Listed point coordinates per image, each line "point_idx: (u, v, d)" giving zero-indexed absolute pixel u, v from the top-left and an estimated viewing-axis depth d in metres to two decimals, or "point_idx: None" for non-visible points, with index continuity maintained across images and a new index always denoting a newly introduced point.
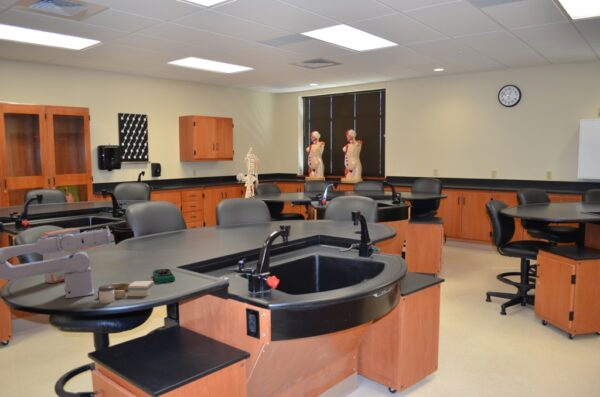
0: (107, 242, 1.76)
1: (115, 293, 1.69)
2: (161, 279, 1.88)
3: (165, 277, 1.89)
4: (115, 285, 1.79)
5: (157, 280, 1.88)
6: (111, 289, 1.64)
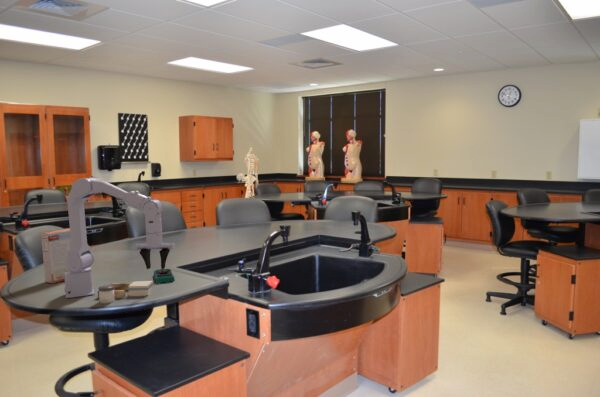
0: (157, 244, 1.70)
1: (115, 293, 1.69)
2: (160, 280, 1.88)
3: (164, 277, 1.89)
4: (115, 285, 1.79)
5: (156, 280, 1.88)
6: (111, 289, 1.64)
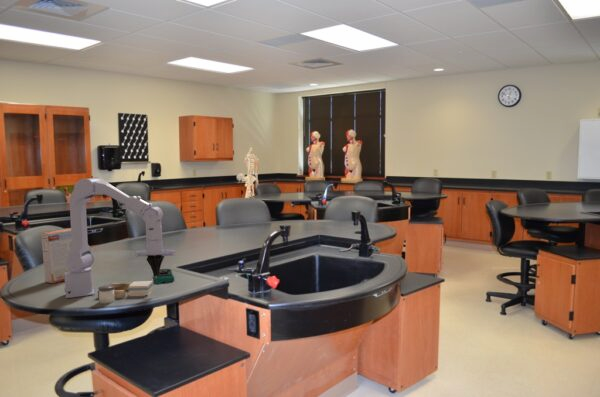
0: (158, 251, 1.71)
1: (115, 293, 1.69)
2: (160, 280, 1.88)
3: (164, 277, 1.89)
4: (115, 285, 1.79)
5: (156, 280, 1.88)
6: (111, 289, 1.64)
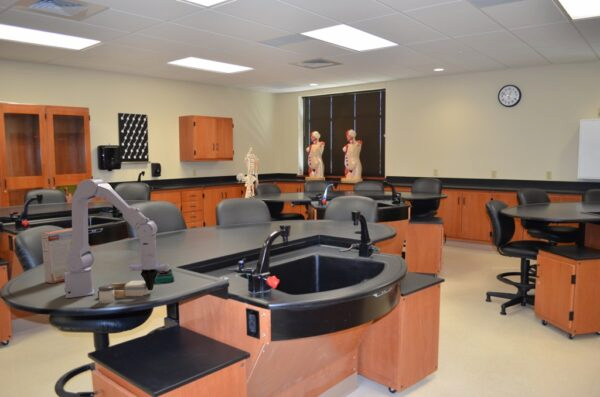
0: (152, 265, 1.71)
1: (115, 293, 1.69)
2: (160, 280, 1.88)
3: (164, 277, 1.89)
4: (115, 285, 1.79)
5: (156, 280, 1.88)
6: (111, 289, 1.64)
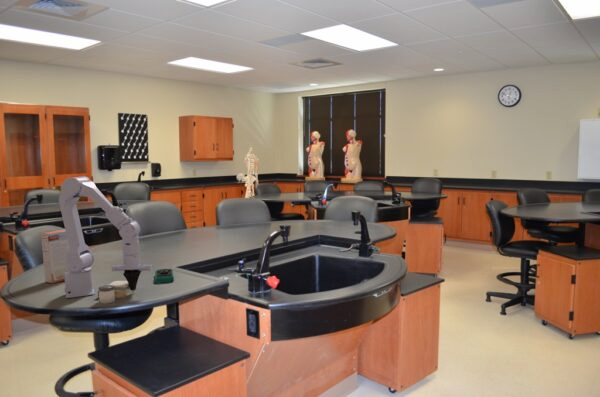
0: (134, 265, 1.72)
1: (115, 293, 1.69)
2: (159, 280, 1.88)
3: (164, 277, 1.89)
4: None
5: (156, 280, 1.88)
6: (111, 289, 1.64)
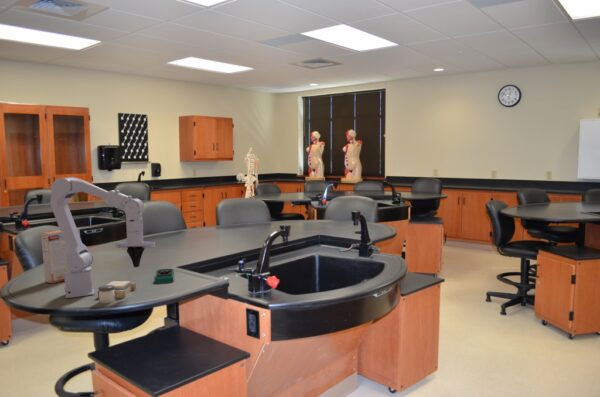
0: (138, 242, 1.72)
1: (115, 293, 1.69)
2: (159, 280, 1.88)
3: (163, 277, 1.89)
4: None
5: (155, 280, 1.88)
6: (111, 289, 1.64)
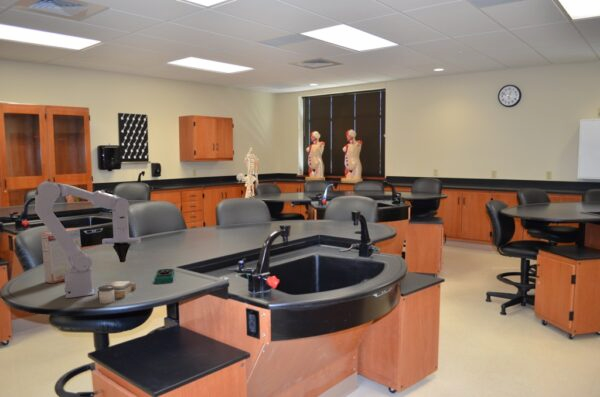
0: (123, 238, 1.80)
1: (115, 293, 1.69)
2: (159, 280, 1.88)
3: (163, 277, 1.88)
4: None
5: (155, 280, 1.88)
6: (111, 289, 1.64)
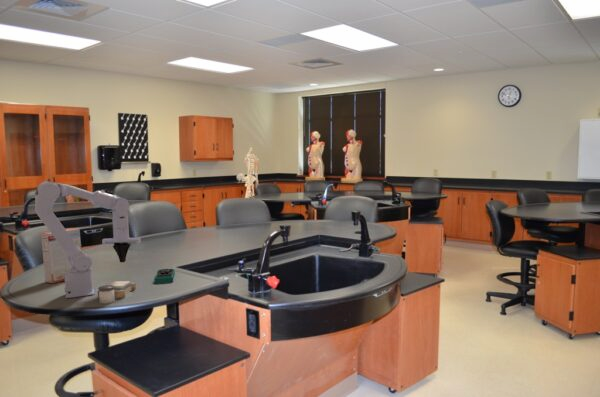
0: (123, 238, 1.80)
1: (115, 293, 1.69)
2: (159, 280, 1.88)
3: (163, 277, 1.88)
4: None
5: (155, 280, 1.88)
6: (111, 289, 1.64)
